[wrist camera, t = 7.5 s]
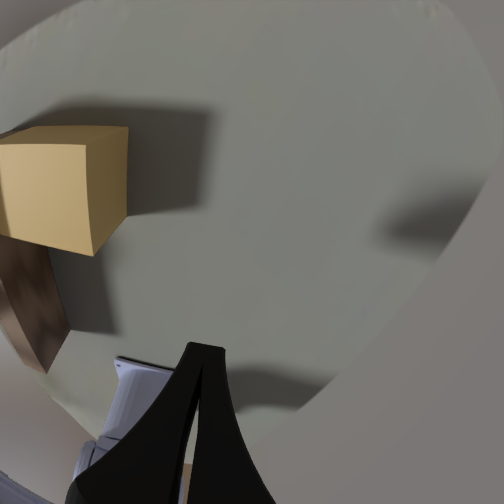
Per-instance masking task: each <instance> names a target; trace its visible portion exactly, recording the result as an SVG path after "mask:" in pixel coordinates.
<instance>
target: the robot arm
mask: <svg viewBox="0 0 504 504" xmlns="http://www.w3.org/2000/svg"><path fill="white" fill-rule="evenodd" d="M225 351H226V350H225V349H224V348H223V347H217V346H212V345H206V344H201V343H195V342H189V343H187V346H186V348H185V351H184V353H183V355H182V357H181V359H180V361H179V363H178V365H177V366H176V368H175V370H174V371H170V370H165V369H161V368H157V367H152V366H148V365H144V364H140V363H136V362H133V361H129V360H125V359H121V358H118V357H116V358H115V359H114V364H115V367H116V371H117V374H118V377H119V380H120V382H119V385H118V388H117V390H116V393H115V396H114V399H113V402H112V405H111V407H110V410H109V413H108V416H107V419H106V422H105V426H104V429H103V432H102V435H99V438H98V442H97V445H96V441H94V440H90V441H87V442H85V443H84V444H83V447H82V449H81V451H80V454H79V457H78V460H77V464H76V467H75V472H74V476H73V482H72V484H71V485H70V487H69V490H68V492H67V496H66V501H65V504H182V502H183V496H184V479H183V476H182V472H183V465H184V458H185V452H186V447H187V442H188V439H189V435H190V431H191V427H192V424H193V420H194V416H195V412H196V409H197V405H198V401H199V415H198V433H197V440H196V446H195V452H194V459H193V465H192V472H191V479H190V485H189V492H188V499H187V504H276V503H275V501H274V499H273V498H272V496H271V495H270V493H269V491H268V490H267V488H266V487H265V485H264V483H263V481H262V479H261V477H260V475H259V473H258V471H257V470H256V467H255V465H254V464H253V461H252V460H251V457H250V455H249V452H248V450H247V448H246V445H245V443H244V440H243V438H242V435H241V432H240V429H239V426H238V423H237V420H236V416H235V413H234V409H233V405H232V401H231V397H230V392H229V387H228V381H227V374H226V364H225ZM199 397H200V399H199ZM0 504H54V503H52V502H50V501H48V500H46V499H44V498H42V497H40V496H38V495H37V494H35V493H33V492H31V491H30V490H28V489H26V488H25V487H23V486H21V485H19V484H18V483H16V482H15V481H13V480H12V479H10V478H9V477H8V475H6V474H5V473H4V472H2V471H1V470H0Z"/></svg>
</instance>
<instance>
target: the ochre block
mask: <svg viewBox="0 0 504 504" xmlns="http://www.w3.org/2000/svg"><path fill="white" fill-rule="evenodd" d="M128 134H129V127H124V126H98V125H56V126H34V127H31V128H28V129H25V130H23V131H20V132H17V133H15V134H12V135H10V136H7V137H5V138H3V139H0V234H1V235H4V236H8V237H12V238H16V239H20V240H24V241H28V242H32V243H37V244H41V245H45V246H49V247H53V248H58V249H62V250H66V251H71V252H75V253H80V254H84V255H89V256H94V255H95V254H96V253H97V251H98V250H99V249H100V248H101V246H102V245H103V244H104V243H105V242H106V240H107V239H108V238H109V237H110V236H111V234H112V233H113V232H114V231H115V230H116V229H117V227H118V226H119V225H120V224H121V223H122V222H123V221H124V219H125V218H126V217H127V153H128Z"/></svg>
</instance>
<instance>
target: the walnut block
mask: <svg viewBox="0 0 504 504" xmlns="http://www.w3.org/2000/svg"><path fill="white" fill-rule="evenodd" d="M20 131H23V130H16V131H8V132H5V133H3V134H0V139H3V138H5V137H7V136H10V135H12V134H15V133H17V132H20ZM0 322H1V324H2V326H3V327H4V329H5V331H6V333H7V335H8V337H9V339H10V341H11V342H12V344H13V346H14V348H15V349H16V351H17V353H18V355H19V356H20V358H21V360H22V361H23V363H24V364H25V365H27V366H29V367H32V368H34V369H36V370H38V371H40V372H42V373H45V374H47V372H48V370H49V368H50V367H51V365H52V363H53V361H54V359H55V357H56V355H57V353H58V351H59V350H60V348H61V346H62V344H63V342H64V341H65V339H66V337H67V335H68V334H69V332H70V328H69V325H68V322H67V319H66V316H65V313H64V310H63V307H62V304H61V300H60V297H59V294H58V290H57V287H56V283H55V280H54V276H53V272H52V268H51V264H50V260H49V255H48V251H47V246H45V245H41V244H37V243H32V242H28V241H24V240H20V239H16V238H12V237H8V236H4V235H1V234H0Z"/></svg>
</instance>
